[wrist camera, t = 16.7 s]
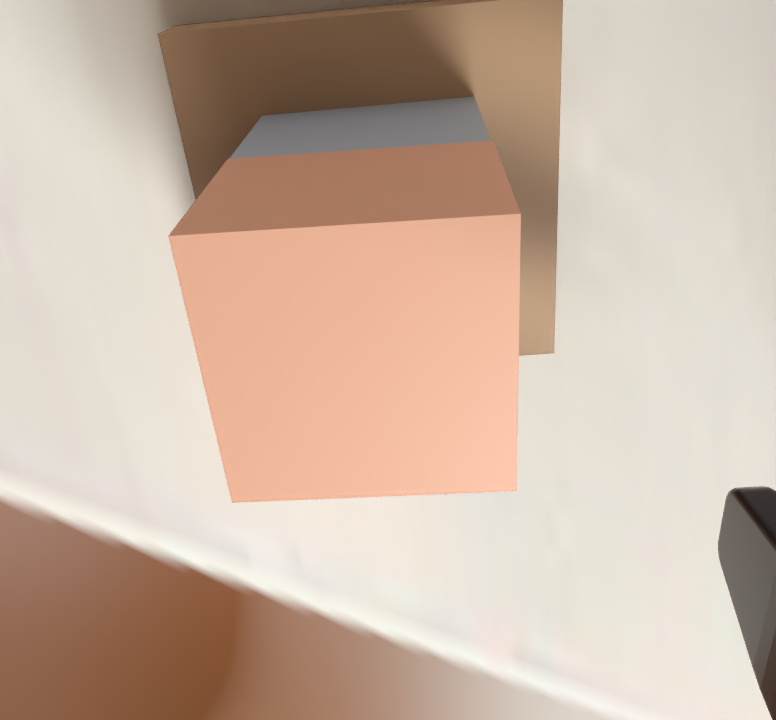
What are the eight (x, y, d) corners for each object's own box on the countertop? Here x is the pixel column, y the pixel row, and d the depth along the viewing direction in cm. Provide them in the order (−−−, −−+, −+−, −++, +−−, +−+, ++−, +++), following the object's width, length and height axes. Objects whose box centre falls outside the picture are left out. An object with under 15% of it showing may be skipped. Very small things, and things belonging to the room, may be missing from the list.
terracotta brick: (494, 370, 16) (516, 491, 13) (268, 381, 17) (232, 502, 13) (493, 140, 14) (521, 213, 10) (227, 158, 14) (168, 236, 11)
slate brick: (481, 291, 20) (495, 370, 16) (295, 305, 20) (271, 385, 17) (474, 96, 17) (490, 140, 14) (261, 115, 18) (225, 163, 14)
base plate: (545, 327, 22) (553, 353, 21) (245, 347, 23) (235, 373, 21) (551, -12, 17) (562, -7, 16) (176, 25, 18) (157, 34, 17)
